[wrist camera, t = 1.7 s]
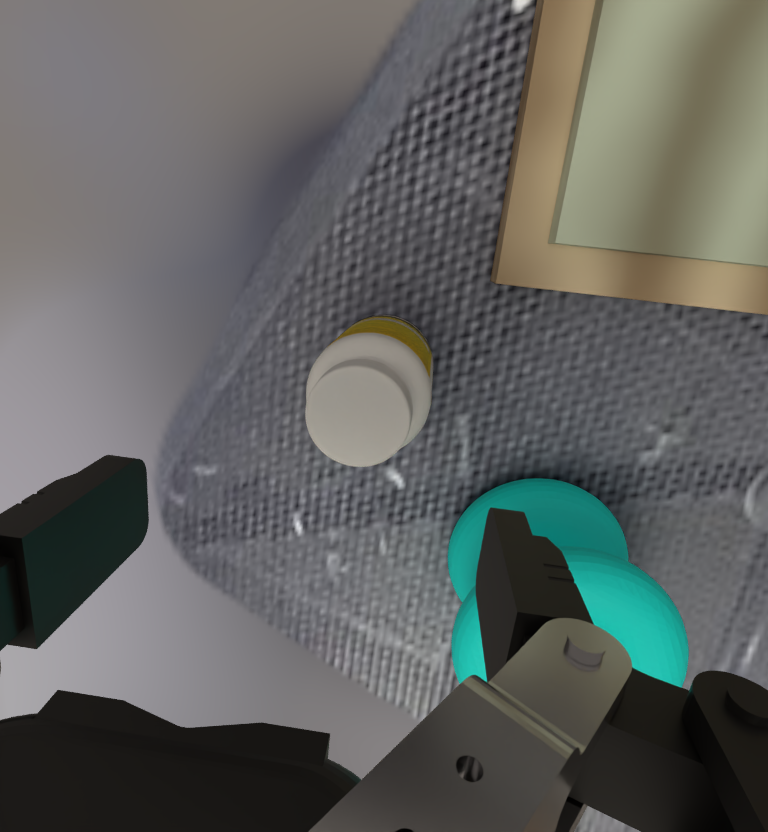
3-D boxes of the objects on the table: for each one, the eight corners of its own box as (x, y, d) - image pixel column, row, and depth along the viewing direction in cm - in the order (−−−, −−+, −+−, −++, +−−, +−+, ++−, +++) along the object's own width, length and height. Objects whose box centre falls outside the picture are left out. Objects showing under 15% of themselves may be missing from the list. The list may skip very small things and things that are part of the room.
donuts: (420, 607, 21) (675, 546, 19) (425, 497, 30) (595, 448, 28) (491, 783, 23) (722, 744, 21) (475, 630, 33) (633, 594, 31)
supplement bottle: (331, 316, 28) (278, 348, 18) (431, 311, 27) (430, 341, 18) (339, 411, 29) (295, 485, 20) (434, 409, 29) (434, 483, 19)
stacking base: (887, -29, 21) (987, -91, 17) (771, 312, 25) (830, 323, 22) (546, -55, 22) (569, -119, 18) (490, 280, 26) (499, 285, 22)
